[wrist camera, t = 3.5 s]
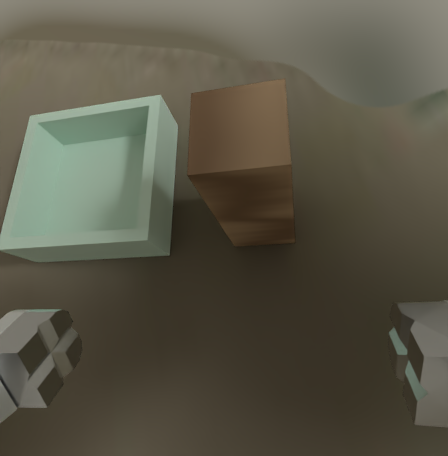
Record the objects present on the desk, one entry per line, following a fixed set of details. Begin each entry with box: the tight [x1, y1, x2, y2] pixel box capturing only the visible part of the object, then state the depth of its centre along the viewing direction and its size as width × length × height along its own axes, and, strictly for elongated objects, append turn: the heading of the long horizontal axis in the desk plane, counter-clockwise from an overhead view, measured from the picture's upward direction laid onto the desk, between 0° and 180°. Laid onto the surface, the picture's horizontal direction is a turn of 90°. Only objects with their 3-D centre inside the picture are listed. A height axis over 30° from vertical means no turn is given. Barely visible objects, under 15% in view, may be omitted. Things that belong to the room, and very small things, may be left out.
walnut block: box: [187, 79, 295, 246], centre depth 18 cm, size 4×4×10 cm
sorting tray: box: [0, 95, 178, 263], centre depth 24 cm, size 11×11×4 cm
